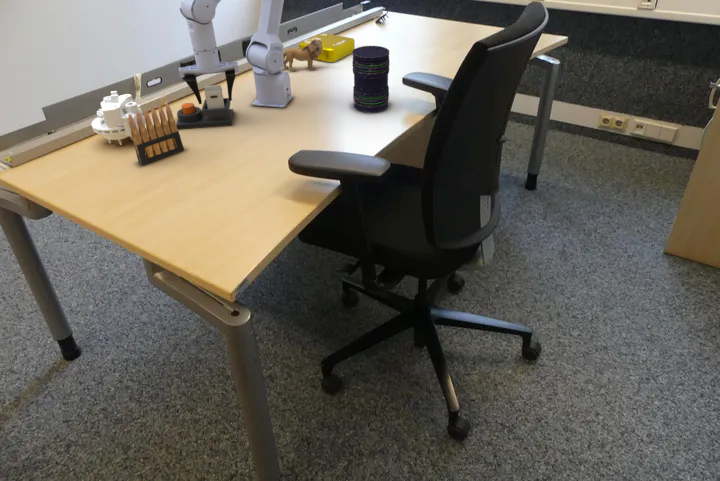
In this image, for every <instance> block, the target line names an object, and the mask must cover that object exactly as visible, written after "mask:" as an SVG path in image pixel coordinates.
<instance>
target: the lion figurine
mask: <svg viewBox="0 0 720 481" xmlns="http://www.w3.org/2000/svg"><path fill="white" fill-rule="evenodd" d="M321 52H322V41H320V40H318V39H314V40H312V41H311V43H310V44H308V45H307V46H305V47H304V48H303V49H299V48H294V47H290V48H287V49H285V50H284V51H283V56H284V63H283V66H282V68H281V70H282V69H288V68H289V69H290V70H291V72H296V69H295V68H293V62H294V59H295V60H296V61H299V62H306V63H307V67H308V69H309V70H310V71H315V67H313V65H314V64H313V63H314V61H317V60H316V59H317V58H318V56H319V55H320V54H321ZM287 64H288V65H287Z"/></svg>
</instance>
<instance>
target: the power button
mask: <svg viewBox="0 0 720 481" xmlns="http://www.w3.org/2000/svg"><path fill="white" fill-rule="evenodd" d="M195 107H196V106H195V103H193V102H186V103H183V104H182V105H181V109H182V110H183V114H193V113H195V112H196V111H195Z"/></svg>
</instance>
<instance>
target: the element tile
mask: <svg viewBox="0 0 720 481" xmlns="http://www.w3.org/2000/svg"><path fill="white" fill-rule="evenodd" d="M314 39H318V40H320V41H322V52H321V54H320V55H319V56H318V58H317V59H316V60H315V61H321V62H325V63H335V62H337V61H340V60H342V59H344V58H345V57H347V56H350V55H352V54H353V50H354V49H356V48H355V47H356V45H355V39H354V38H352V37H348V36H342V35H336V34H330V33H324V32H321V33H319V34H317V35H314V36H312V37H309V38H307V39H304V40H302V41H300V42H299V43H298V49H303V48H304V47H305V46H307V45H308V44H310V43H311V41H312V40H314Z"/></svg>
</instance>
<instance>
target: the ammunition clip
mask: <svg viewBox="0 0 720 481" xmlns="http://www.w3.org/2000/svg"><path fill="white" fill-rule="evenodd" d="M150 109H151V110H150V111H151V117H150V114H149V113H148V111H147V110H146V109H144V110H143V116H144V119H145V126H144V123H143V120H142V118H141V116H140V114H139V113H138V112H137V113H136V118H137V123H138V127H139V132H138V130H137V127H136V125H135V122H134V120H133V118H132V116H131V115H130V114H129V116H128V119H129V125H130V129H131V135H132V138H133V140H132V142H133V145H134V146H133V147H134V150H135V154H136V158H137V161H138V164H139V165H141V166H145V165H149V164H151V163H153V162H157V161H159V160H162V159H164V158H167V157H170V156H173V155H176V154H178V153H181V152H184V151H185V148H184V145H183V140H182V138H181V134H180V133H179V129H177V126H176V124H177V121H176V119H175V117H174V115H173V111H172V108H171V106H170V104H169V103H168V102H166V103H165V111H164V109H163V106H162V105H161V104H158V113H157V111H156V109H155V108H154V106H153V107H151V108H150ZM165 113H166V114H165ZM139 133H140V134H139Z"/></svg>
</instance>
